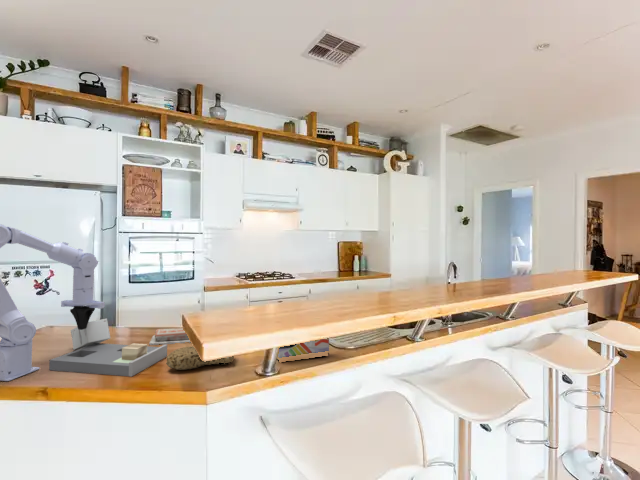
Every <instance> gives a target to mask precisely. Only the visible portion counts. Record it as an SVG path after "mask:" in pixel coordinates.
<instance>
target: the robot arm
mask: <svg viewBox="0 0 640 480" xmlns="http://www.w3.org/2000/svg"><path fill="white" fill-rule="evenodd" d="M6 244H11V245H14V244H18V245H21V246H25V247H28V248H31V249H34V250H36V251H40V252H42V253H46V255H47V257H48V258H49V260H53V261H56V262H58V263H61V264H63V265H67V266H70V267H71V268H72V269H73V271H72V272H73V273H72V275H73V276H72V300H71V299H67V300H66V299H65V300H61V302H60V304H61V305H60V306H61V307H62V308H65V307H66V308H67V307H69V308H70V307H71V309H69V312H70V314H72V316H73V317H74V320H75V323H76V327H78V330H83V329H86V328H87V324H88V322H90V319H91V316H92V314H93V313H94V312H95V310H96V309H99V310H100V309H101V310H102V309H104V308H105V305H106V303H105V301H99V300H95V299H94V288H95V287H94V283H95V282H94V281H95V279H94V277H95V274H94V273H95V269H96V268H97V266H98V263H99V261H98V259H97V257H96V256H95V255H94V254H93V253H91V252H90V253H89V252H83V251H84V250H83V249H82V248H75V247H74V246H73V247H72V246H70V245H69V243H68V242H65V241H62V242H60V241H58V242H55V243H52V242H49V241H46V240H45V239H42V238H39V237H37V236H35V235H33V234H30V233H28V232H26V231H23V230H20V229H18V228H15V227H11V226H6V225H4V224H2V223H0V249H1V248H3V247H4V246H5V245H6ZM72 307H73V308H72ZM36 332H37V328H36V325H35V324H33V322H30V321H29V320H27V318H26V316H25V315H24V314H23V313H22V312H21V311H20V310H19V309H18V307H17V305H16V304H15V301H14V300H13V299H12V296H11V294H10V293H9V291H8V289H7V288H6V286H5V284H4V283H3V280H2V279H1V278H0V338H1V340H0V381H2V382H3V381H4V382H10V381H12V380H15V379H17V378H20V377H22V376H26V375H28V374H30V373H33V372H35V371H38V370H40V367H38V366H33V365H32V364H33V363H32V362H33V339H34V338H35V335H36V334H37V333H36Z"/></svg>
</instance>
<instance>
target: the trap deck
mask: <svg viewBox="0 0 640 480" xmlns="http://www.w3.org/2000/svg"><path fill="white" fill-rule="evenodd" d="M128 345H129V344H119V343H118V344H117V343H104V342H101V343H94V344H91V345H89V346H86V347H83V348H79V349H75V350H74V351H71V352H68V353H65V354H62V355H59V356H57V357H54V358H51V359H49V361H48V362H49V365H48V366H49V369H48V370H49V371H58V372H70V373H79V374H80V373H81V374H82V373H84V374H94V375H95V374H97V375H109V376H121V377H134V376H135V375H137V374H138V373H141V372H143V371H144V370H147V368H150V367H151V366H153V365H154V364H156V363H158V362H159V361H161V360H163V359H165V358H167V357H168V344H162V345H160V346H152V345H149V346H148V345H147V354H145V355H143V356H141V357H139V358H137V359H135V360H122V348H124V347H126V346H128Z"/></svg>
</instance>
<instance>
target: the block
mask: <svg viewBox="0 0 640 480" xmlns="http://www.w3.org/2000/svg"><path fill="white" fill-rule="evenodd" d="M127 345H128V346H126V347H124V348H122V360H135V359H137V358H139V357H141V356H143V355H145V354H147V346H148V344H147V343H135V342H134V343H133V342H132V343H130V344H127Z"/></svg>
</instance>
